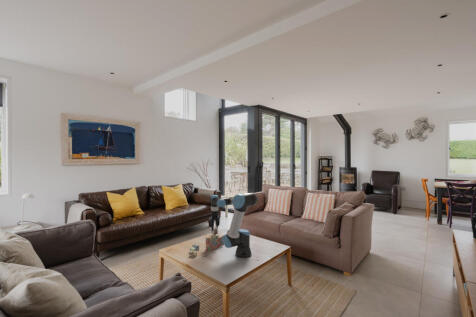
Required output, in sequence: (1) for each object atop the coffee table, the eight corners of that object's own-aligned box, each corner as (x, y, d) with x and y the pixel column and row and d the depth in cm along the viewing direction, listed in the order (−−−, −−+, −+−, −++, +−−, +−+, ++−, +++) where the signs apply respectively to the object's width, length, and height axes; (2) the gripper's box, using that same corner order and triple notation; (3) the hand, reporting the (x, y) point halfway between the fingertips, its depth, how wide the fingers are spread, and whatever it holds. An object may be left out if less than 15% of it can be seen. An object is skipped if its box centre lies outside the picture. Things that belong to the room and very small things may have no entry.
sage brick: (195, 253, 222) (195, 248, 222) (192, 253, 220) (192, 249, 220) (193, 250, 227) (193, 246, 227) (190, 251, 225) (190, 247, 225)
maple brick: (197, 255, 216) (197, 251, 216) (195, 257, 213) (195, 252, 213) (191, 254, 218) (191, 250, 218) (189, 256, 215) (189, 251, 215)
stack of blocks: (219, 242, 248) (219, 231, 247) (224, 244, 244) (224, 232, 244) (205, 249, 230) (205, 237, 230) (210, 250, 227) (210, 238, 226)
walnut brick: (217, 234, 235) (217, 230, 235) (215, 234, 233) (215, 230, 233) (213, 232, 239) (213, 228, 239) (211, 233, 237) (211, 229, 237)
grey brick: (199, 249, 230) (199, 245, 230) (196, 250, 227) (196, 246, 227) (194, 248, 234) (194, 244, 234) (192, 249, 231) (192, 245, 231)
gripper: (218, 208, 244) (218, 230, 244) (205, 211, 232) (205, 234, 233) (223, 209, 239) (223, 232, 239) (210, 212, 227) (210, 236, 227)
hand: (214, 233), depth 236 cm, fingers closed on walnut brick, 3 cm apart
